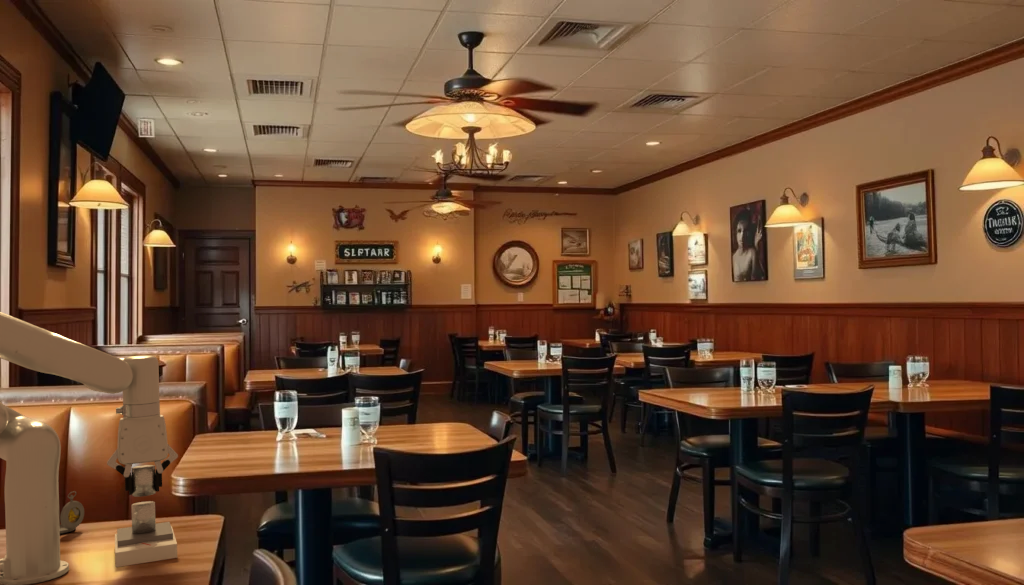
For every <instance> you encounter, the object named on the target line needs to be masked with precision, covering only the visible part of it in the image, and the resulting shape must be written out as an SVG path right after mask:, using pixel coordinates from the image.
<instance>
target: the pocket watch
mask: <svg viewBox="0 0 1024 585" xmlns="http://www.w3.org/2000/svg"><path fill="white" fill-rule="evenodd" d="M72 493H75V494H74V495H73V494H72ZM76 495H77V491H75V490H73V491H70V492H69V493H68V495H67V498H68V499H69V500H70V501H69V502H67V503H66V504H65V505H64V506H63V507H62V509H61V512H60V514H59V522H60V535H62V534H66V533H69V532H70V533H71V532H73V531H75V530H76V529H77V528H78V527H79V526H80V525H81V523H82V522H83V520H84V517H85V508H84V506H83V504H82V503H81V502H80V501H78V500H74V497H76Z"/></svg>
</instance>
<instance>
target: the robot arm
mask: <svg viewBox="0 0 1024 585" xmlns="http://www.w3.org/2000/svg"><path fill="white" fill-rule="evenodd" d="M0 359H2V360H4V361H7V362H10V363H12V364H15V365H18V366H20V367H23V368H25V369H29V370H32V371H35V372H38V373H39V372H40V373H42V374H43V373H44V374H49V375H55V376H59V377H62V378H65V379H69V380H72V381H74V382H77V383H80V384H83V385H84V387H86V388H87V389H89V390H90V391H94V392H98V393H105V394H110V395H111V394H119V393H122V405H121V406H119V407H116V408H115V414H116V415H117V414H118V415H122V416H123V417H120V418H119V422H118V428H117V448H116V449H115V451H114V452H113V453H112V455H111V456H110V457H109V458H108V460H107V461H106V465H107V466H108V467H110V468H112V469H114V470H116V472H118V473H120V475H121V476H123V477H124V489H125V492H128V496H132V494H133V489H132V468H133V465H134V464H135V465H136V464H143V463H154V466H155V490H156V493H158V492H160V487H161V488H162V487H163V473H164V471H165V470H166V469H167V468H168V467H169V466H170V464H172V463H173V462H174V461H175V460H177V459H178V458H179V454H178V453H177V452H176V451H175V450H174V449H173V448H172V447H171V445H170V444H168V443H169V442H168V433H167V425H166V419H165V416H164V414H161V404H160V403H161V402H160V399H161V398H160V374H159V372H160V371H159V369H160V367H159V359H158V358H157V357H156V356H154V355H135V356H134V355H133V356H127V357H117V356H114V355H111V354H110V353H107V352H104V351H102V350H99V349H96V348H95V347H91V346H89V345H86V344H83V343H81V342H78V341H75V340H73V339H70V338H68V337H65V336H64V335H61V334H58V333H55V332H52V331H50V330H47V329H46V328H43V327H40V326H37V325H34V324H32V323H30V322H27V321H25V320H23V319H20V318H17V317H14V316H12V315H10V314H8V313H4V312H2V311H0ZM3 403H4V402H2V401H1V400H0V459H2V460H4V461H6V462H5V463H6V465H5V467H6V468H5V476H4V510H5V511H4V512H5V548H6V550H5V552H6V553H5V555H4V557H2V558H1V557H0V584H1V585H32V584H38V583H43V582H47V581H50V580H54V579H56V578H59V577H61V576H63V575H66V573H67V572H68V571H69V570H70V563H69V562H67V561H65V560H61V534H60V525H61V523H60V494H59V493H60V492H59V491H60V490H59V471H60V462H61V453H62V451H61V450H62V446H61V441H60V437H59V435H58V432H56V429H55V428H54V427H52V426H51V425H49V424H47V423H46V422H43V421H40V420H36V419H32V418H29V417H28V416H25V415H24V414H22V413H20V412H18V411H17V410H14V409H12V408H11V407H9V406H7V405H6V404H3ZM168 455H169V456H168ZM117 460H118V462H119V463H118V462H117ZM161 461H162V462H161ZM123 465H124V466H123Z"/></svg>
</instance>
